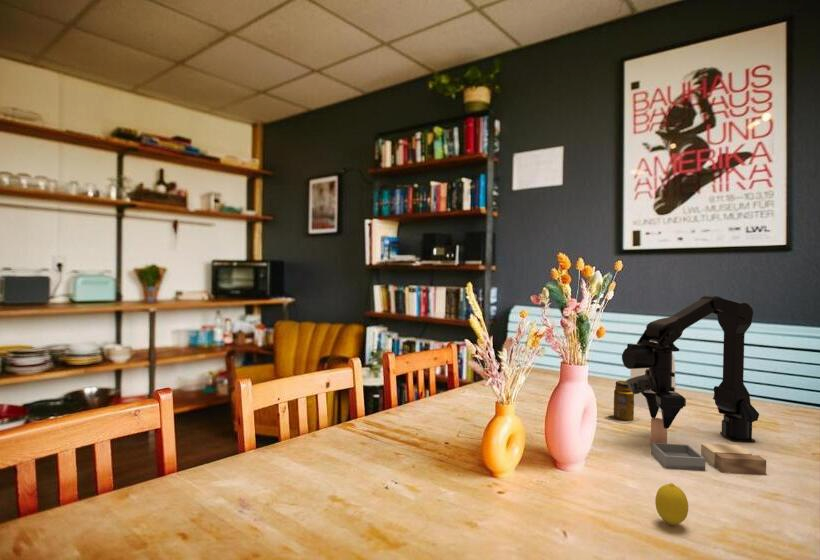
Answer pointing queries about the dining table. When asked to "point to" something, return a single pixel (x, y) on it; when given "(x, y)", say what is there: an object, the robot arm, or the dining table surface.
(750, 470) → the block
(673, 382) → the milk
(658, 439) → the dowel
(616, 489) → the dining table surface
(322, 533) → the dining table surface
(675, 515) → the lemon
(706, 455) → the light wood rectangular prism
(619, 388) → the condiment
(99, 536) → the dining table surface
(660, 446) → the tray
